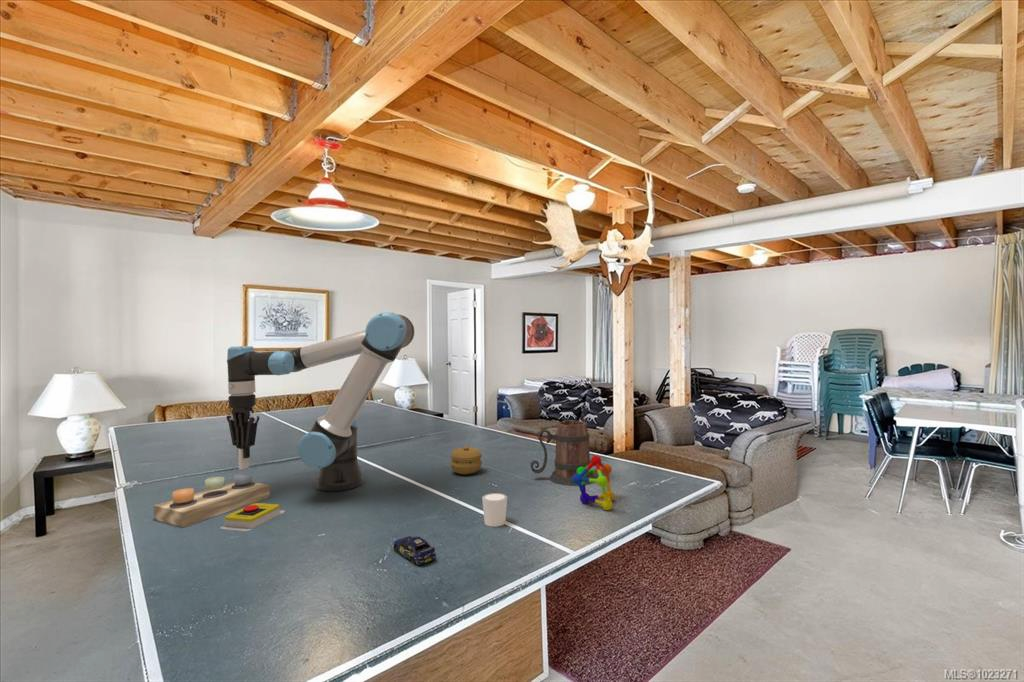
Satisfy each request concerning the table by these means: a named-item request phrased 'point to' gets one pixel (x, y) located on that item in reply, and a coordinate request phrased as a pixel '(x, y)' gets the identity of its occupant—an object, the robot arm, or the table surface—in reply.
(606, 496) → the educational toy
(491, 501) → the cream cylinder
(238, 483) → the slate button
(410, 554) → the race car
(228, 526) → the emergency button
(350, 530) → the table surface
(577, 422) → the tankard
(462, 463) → the pot
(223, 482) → the sage button
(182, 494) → the terracotta button
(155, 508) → the button panel
